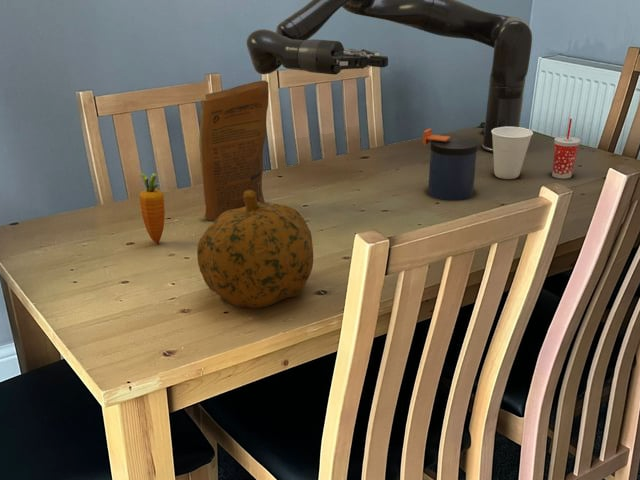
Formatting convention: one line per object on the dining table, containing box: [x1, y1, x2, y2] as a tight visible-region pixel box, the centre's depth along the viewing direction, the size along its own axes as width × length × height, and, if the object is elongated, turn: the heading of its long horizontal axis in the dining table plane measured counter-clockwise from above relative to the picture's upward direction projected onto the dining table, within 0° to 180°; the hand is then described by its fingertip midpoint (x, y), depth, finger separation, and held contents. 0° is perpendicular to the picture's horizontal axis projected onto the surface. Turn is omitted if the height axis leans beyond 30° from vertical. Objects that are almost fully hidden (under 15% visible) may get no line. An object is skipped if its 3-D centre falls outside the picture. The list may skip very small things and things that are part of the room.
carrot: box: [139, 173, 166, 245], centre depth 162 cm, size 5×5×15 cm
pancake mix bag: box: [198, 79, 270, 221], centre depth 173 cm, size 7×19×28 cm, turn 127°
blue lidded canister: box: [427, 135, 480, 201], centre depth 186 cm, size 11×11×12 cm
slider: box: [422, 128, 451, 146], centre depth 185 cm, size 6×3×3 cm, turn 59°
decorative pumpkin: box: [196, 190, 314, 309], centre depth 139 cm, size 20×21×20 cm
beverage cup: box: [551, 118, 581, 180], centre depth 195 cm, size 6×6×14 cm
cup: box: [491, 126, 534, 180], centre depth 196 cm, size 10×10×11 cm
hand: (386, 62), depth 184 cm, fingers closed
